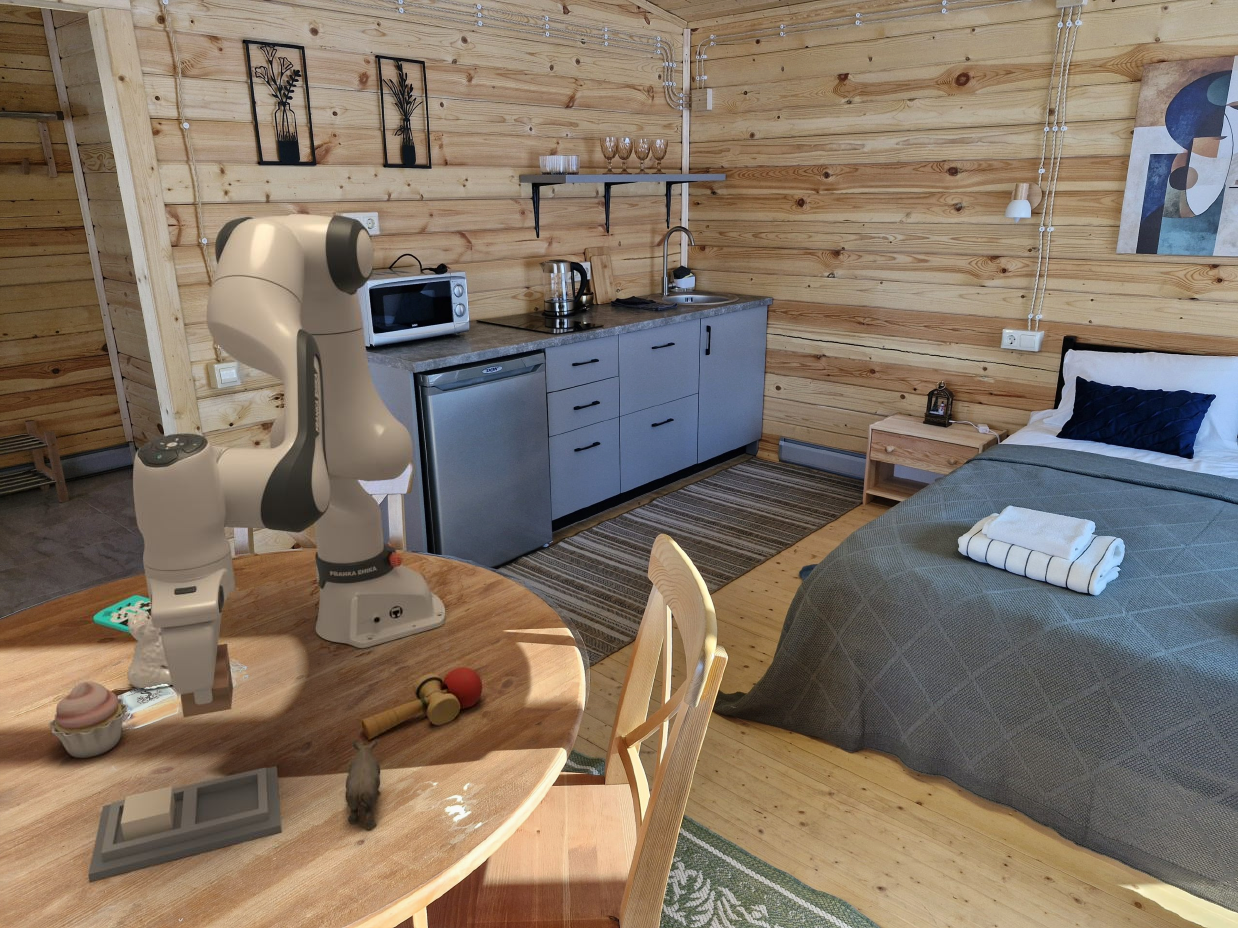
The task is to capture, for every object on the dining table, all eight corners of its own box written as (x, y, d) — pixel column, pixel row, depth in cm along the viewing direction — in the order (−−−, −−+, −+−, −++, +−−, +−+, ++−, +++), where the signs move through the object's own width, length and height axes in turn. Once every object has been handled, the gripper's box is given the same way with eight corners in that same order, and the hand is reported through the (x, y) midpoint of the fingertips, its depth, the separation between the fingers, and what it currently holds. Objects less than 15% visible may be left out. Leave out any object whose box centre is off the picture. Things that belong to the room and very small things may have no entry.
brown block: (187, 694, 102) (181, 650, 100) (233, 687, 104) (227, 643, 102) (183, 717, 98) (176, 671, 96) (231, 708, 99) (225, 663, 98)
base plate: (277, 772, 113) (273, 746, 111) (281, 831, 102) (277, 804, 101) (104, 812, 105) (98, 785, 104) (89, 881, 95) (83, 852, 93)
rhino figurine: (384, 759, 116) (381, 721, 114) (381, 829, 103) (377, 788, 101) (353, 763, 115) (349, 725, 113) (345, 835, 102) (341, 793, 100)
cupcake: (77, 775, 112) (63, 709, 109) (42, 751, 117) (27, 687, 113) (147, 738, 119) (135, 676, 116) (111, 717, 124) (98, 657, 121)
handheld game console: (138, 599, 161) (137, 593, 161) (199, 616, 155) (197, 609, 154) (87, 622, 152) (86, 615, 152) (150, 641, 146) (148, 634, 146)
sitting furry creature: (200, 680, 134) (189, 612, 130) (141, 703, 128) (128, 632, 124) (177, 658, 140) (165, 593, 136) (119, 679, 134) (106, 611, 130)
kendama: (380, 762, 117) (495, 704, 126) (368, 722, 116) (485, 666, 125) (364, 742, 124) (474, 689, 133) (351, 704, 122) (464, 652, 131)
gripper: (170, 549, 104) (185, 649, 108) (148, 622, 86) (167, 739, 90) (226, 542, 106) (238, 641, 110) (216, 612, 88) (232, 727, 92)
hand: (206, 686), depth 100 cm, fingers closed on brown block, 5 cm apart
